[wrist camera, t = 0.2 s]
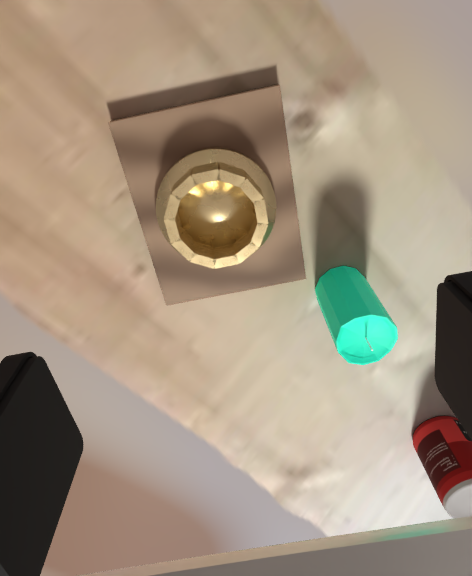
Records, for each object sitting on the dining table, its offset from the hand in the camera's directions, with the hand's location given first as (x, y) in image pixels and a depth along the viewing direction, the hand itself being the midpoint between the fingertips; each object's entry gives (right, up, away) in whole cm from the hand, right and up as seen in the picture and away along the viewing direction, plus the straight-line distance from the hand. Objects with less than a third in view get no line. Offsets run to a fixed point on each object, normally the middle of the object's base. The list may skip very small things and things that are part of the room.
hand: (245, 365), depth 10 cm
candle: (+12, +2, +41) cm, 43 cm away
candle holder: (-2, +10, +34) cm, 36 cm away
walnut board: (-2, +11, +36) cm, 37 cm away
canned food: (+29, -19, +53) cm, 64 cm away
